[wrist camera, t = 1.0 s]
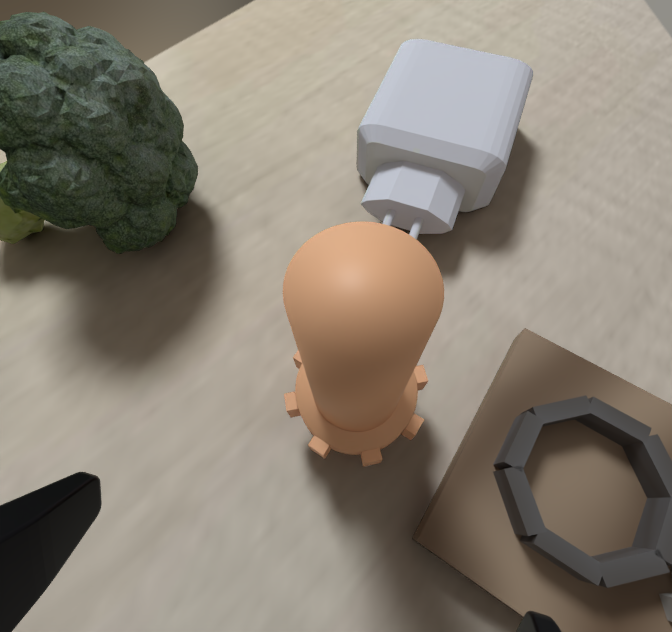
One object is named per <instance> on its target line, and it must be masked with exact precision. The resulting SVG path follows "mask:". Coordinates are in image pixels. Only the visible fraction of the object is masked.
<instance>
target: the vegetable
mask: <svg viewBox="0 0 672 632" xmlns="http://www.w3.org/2000/svg"><path fill="white" fill-rule="evenodd" d="M183 128H184V125H183V121H182V117H181V114H180V112H179V110H178V108H177V107H176V106H175V104H174V103H173V102H172V101H171V100H170V99H169V98H168V97H167V96H166V95H165V94H164V92H163V91H162V90H161V88H160V85H159V82H158V80H157V77H156V75H155V74H154V72H153V71H152V70H151V69H150V68H148V67H147V66H146V65H145V64H144V62H143V61H142V60H141V59H139V58H137V57H136V56H135V55H134V54H133V53H132V52H130V50H129V49H125V48H124V47H123V46H122V45H121V44H120V43H119V42H118V41H117V40H116V39H115V38H114V37H113V36H112V35H111V34H109V33H108V32H106V31H103V30H100V29H98V28H94V27H91V26H88V27H84V28H81V29H78V30H76V29H75V28H74V27H73V26H72V25H70V24H68V23H66V22H65V21H63V20H61V19H60V18H58V17H56V16H51V15H49V14H47V13H45V12H42V13H31V12H25V13H20V14H16V15H12V16H11V18H10V20H6V21H0V149H1V150H3V151H4V152H5V153H6V158H7V161H6V162H4V163H2V164H0V240H1V241H4V242H8V243H11V244H15V243H16V242H18V241H20V240H21V239H23V238H25V237H26V236H28V235H30V234H31V233H34V232H42V230H43V228H44V220H46V221H48V222H50V223H52V224H54V225H56V226H59V227H62V228H65V229H71V228H78V227H82V226H86V225H91V226H94V227H96V232H97V233H98V235H99V236H100V237H101V238H102V239H103V242H104V244H105V245H106V246H107V248H108V249H109V250H112V251H114V252H116V253H119V254H121V253H123V252H125V251H138V250H141V249H143V248H145V247H151V246H153V245H154V244H156V243H157V242H158V241H161V242H162V240H163V238H164V237H165V235H167V236H168V234H169V233H170V231H171V230H172V229H173V228H174V227H175V225H176V216H177V208H180V207H183V206H184V205H185V204H186V203H187V202H188V196H189V194H190V193H191V192H192V190H193V189H194V185H195V182H196V179H197V175H198V166H197V164H196V162H195V159H194V157H193V155H192V153H191V151H190V150H189V148H188V147H187V145H186V144H185V143H184V142H183V141H182V138H183Z"/></svg>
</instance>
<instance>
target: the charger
mask: <svg viewBox="0 0 672 632" xmlns="http://www.w3.org/2000/svg"><path fill="white" fill-rule="evenodd" d="M532 77H533V71H532V69H531V67H530V66H528V65H527V64H526V63H524V62H522V61H520V60H517V59H514V58H510V57H505V56H501V55H496V54H491V53H486V52H481V51H477V50H472V49H467V48H462V47H458V46H453V45H448V44H443V43H438V42H434V41H429V40H423V39H411V40H408V41H405V42H404V43H402V44H401V46H400V48H399V50H398V52H397V54H396V56H395V58H394V60H393V62H392V64H391V66H390V68H389V70H388V72H387V74H386V76H385V77H384V79H383V81H382V83H381V85H380V87H379V89H378V91H377V93H376V95H375V97H374V99H373V101H372V103H371V105H370V107H369V109H368V111H367V113H366V114H365V116H364V118H363V120H362V122H361V124H360V126H359V128H358V131H357V170H358V172H359V173H360V175H361V176H362V177H363V179H364V180H365V182H366V183H367V184H368V185H369V187H368V189H367V191H366V193H365V195H364V197H363V200H362V202H361V205H362V206H363V207H364V208H365V209H366V211H367V212H369V213H370V214H372V215H374V216H375V217H377V218H378V219H380V220H381V221H383V223H382V224H385V225H389V226H391V225H392V226H396V227H399V228H403V229H406V230H409V231H410V233H409V235H411V236H412V237H413V238H415V239H416V240H417V238H418V235H419V234H443V233H446V232H449V231H451V230H452V229H453V226H454V223H455V220H456V217H457V214H458V211H461V212H470V211H473V210H476V209H479V208H482V207H485V206H487V205H489V204H490V202H491V199H492V197H493V195H494V193H495V191H496V189H497V187H498V184H499V182H500V180H501V178H502V176H503V174H504V172H505V169H506V166H507V163H508V159H509V156H510V153H511V149H512V146H513V142H514V139H515V136H516V132H517V129H518V125H519V122H520V118H521V115H522V112H523V108H524V105H525V101H526V98H527V95H528V91H529V88H530V84H531V81H532Z"/></svg>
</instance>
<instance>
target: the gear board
mask: <svg viewBox="0 0 672 632" xmlns="http://www.w3.org/2000/svg"><path fill="white" fill-rule="evenodd" d="M412 539H414V540H415V541H416V542H418V543H419V544H421V545H422V546H423V547H425V548H426V549H428V550H429V551H430V552H432V553H433V554H435V555H436V556H437V557H439V558H440V559H442V560H443V561H445V562H446V563H447V564H449V565H450V566H452V567H453V568H454V569H456V570H457V571H459V572H460V573H461V574H463V575H464V576H466V577H467V578H468V579H470V580H471V581H473V582H474V583H476V584H477V585H478V586H480V587H481V588H483V589H484V590H485V591H487V592H488V593H490V594H491V595H492V596H494V597H495V598H497V599H498V600H499V601H501V602H502V603H504V604H505V605H507V606H508V607H509V608H511V609H512V610H514V611H515V612H516V613H518V614H519V615H521V616H522V617H524V615H525V614H526V612H528V611H534V612H538V613H541V614H544V615H547V616H549V617H551V618H552V619H553V620H554V621H555V622H556V624H557V625H558V627H559V628H560V630H561V631H562V632H672V405H671V404H670V403H668V402H666V401H664V400H662V399H660V398H658V397H656V396H654V395H652V394H650V393H648V392H647V391H645V390H643V389H641V388H639V387H637V386H635V385H633V384H631V383H629V382H627V381H625V380H624V379H622V378H620V377H618V376H616V375H614V374H612V373H610V372H608V371H606V370H604V369H602V368H601V367H599V366H597V365H595V364H593V363H591V362H589V361H587V360H585V359H583V358H581V357H579V356H577V355H576V354H574V353H572V352H570V351H568V350H566V349H564V348H562V347H560V346H558V345H556V344H554V343H553V342H551V341H549V340H547V339H545V338H543V337H541V336H539V335H537V334H535V333H533V332H531V331H530V330H528V329H526V328H525V329H524V330H523V331H522V332H521V333H520V334H519V335H518V336H517V337H516V338H515V339H514V341H513V343H512V345H511V347H510V349H509V351H508V353H507V355H506V357H505V359H504V360H503V362H502V364H501V366H500V368H499V370H498V372H497V374H496V376H495V378H494V380H493V382H492V384H491V386H490V388H489V390H488V392H487V394H486V396H485V397H484V399H483V401H482V403H481V405H480V407H479V409H478V411H477V413H476V415H475V417H474V419H473V421H472V423H471V425H470V427H469V429H468V431H467V433H466V435H465V436H464V438H463V440H462V442H461V444H460V446H459V448H458V450H457V452H456V454H455V456H454V458H453V460H452V462H451V464H450V466H449V468H448V470H447V472H446V473H445V475H444V477H443V479H442V481H441V483H440V485H439V487H438V489H437V491H436V493H435V495H434V497H433V499H432V501H431V503H430V505H429V507H428V509H427V511H426V512H425V514H424V516H423V518H422V520H421V522H420V524H419V526H418V528H417V530H416V532H415V534H414V536H413V538H412Z"/></svg>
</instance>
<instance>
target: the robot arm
mask: <svg viewBox="0 0 672 632" xmlns="http://www.w3.org/2000/svg"><path fill="white" fill-rule="evenodd" d="M100 509H101V486H100V479H99V478H98V476H95V475H92V474H89V473H86V472H78V473H75V474H73V475H70V476H68V477H66V478H63V479H61V480H59V481H56V482H54V483H52V484H49V485H47V486H45V487H42V488H40V489H38V490H35V491H33V492H31V493H28V494H26V495H24V496H21V497H19V498H17V499H14V500H12V501H10V502H7V503H5V504H3V505H0V632H12V631H13V629H14V628H15V627H16V626H17V624H18V623H19V622H20V621H21V620H22V618H23V617H24V616H25V615H26V614H27V612H28V611H29V610H30V609H31V607H32V606H33V605H34V604H35V603H36V601H37V600H38V599H39V598H40V596H41V595H42V594H43V593H44V591H45V590H46V589H47V587H48V586H49V585H50V583H51V582H52V581H53V579H54V578H55V577H56V575H57V574H58V572H59V571H60V569H61V568H62V566H63V565H64V564H65V562H66V561H67V559H68V558H69V556H70V555H71V553H72V552H73V551H74V549H75V548H76V546H77V545H78V543H79V542H80V540H81V539H82V537H83V536H84V535H85V533H86V532H87V530H88V529H89V527H90V526H91V524H92V523H93V522H94V520H95V519H96V517H97V516H98V514H99V512H100ZM516 632H562V631H561V630H560V628H559V627H558V625H557V624H556V622H555V621H554V620H553V619H552V618H551V617H549V616H547V615H544V614H541V613H538V612H534V611H528V612H526V614H525V615H524V617H523V619H522V621H521V623H520V625H519V627H518V629H517V631H516Z"/></svg>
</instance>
